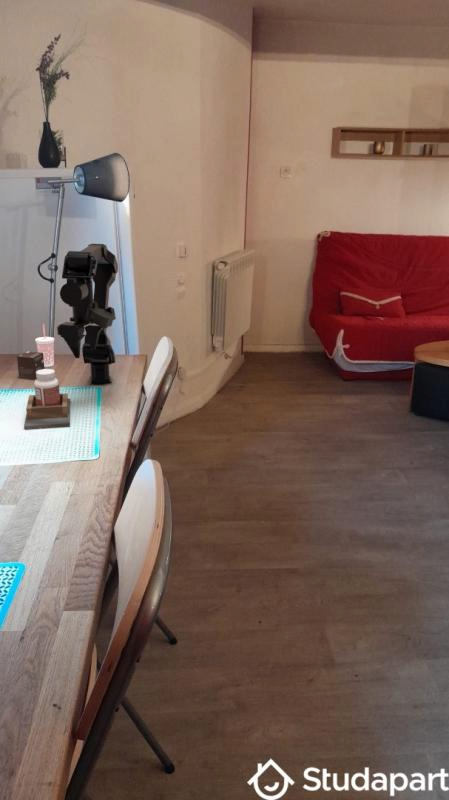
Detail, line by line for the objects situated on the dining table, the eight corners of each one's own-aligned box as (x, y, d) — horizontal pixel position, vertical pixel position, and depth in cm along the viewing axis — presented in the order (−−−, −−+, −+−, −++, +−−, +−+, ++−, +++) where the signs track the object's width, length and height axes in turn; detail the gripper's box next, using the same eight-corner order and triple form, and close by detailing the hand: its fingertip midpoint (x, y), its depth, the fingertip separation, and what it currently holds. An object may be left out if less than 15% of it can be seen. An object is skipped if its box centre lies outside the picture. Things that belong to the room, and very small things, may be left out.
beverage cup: (39, 362, 193) (35, 322, 188) (57, 362, 194) (54, 322, 189) (35, 367, 188) (32, 326, 183) (54, 367, 188) (51, 326, 183)
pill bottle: (64, 407, 152) (61, 368, 148) (56, 416, 146) (53, 375, 142) (41, 406, 152) (38, 367, 149) (33, 414, 147) (29, 374, 143)
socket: (29, 403, 156) (28, 390, 155) (70, 401, 159) (69, 388, 158) (24, 429, 140) (22, 414, 139) (69, 426, 143) (68, 412, 141)
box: (35, 380, 176) (33, 357, 173) (18, 378, 177) (16, 356, 174) (45, 374, 181) (43, 352, 179) (28, 372, 182) (26, 350, 180)
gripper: (93, 306, 143) (96, 365, 148) (124, 295, 159) (126, 348, 165) (53, 303, 145) (58, 361, 151) (88, 292, 162) (91, 344, 168)
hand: (85, 353), depth 158 cm, fingers open, 9 cm apart
